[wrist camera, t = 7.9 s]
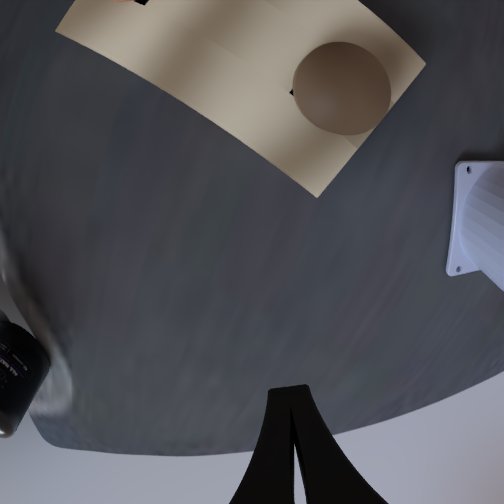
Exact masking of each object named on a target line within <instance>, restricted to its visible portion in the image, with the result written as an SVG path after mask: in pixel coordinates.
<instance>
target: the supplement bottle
mask: <svg viewBox="0 0 504 504" xmlns="http://www.w3.org/2000/svg"><path fill="white" fill-rule="evenodd" d="M48 372H49V361H48V357H47V355H46V353H45V351H44V349H43V348H42V346H41V345H40V344H39V342H38V341H37V340H36V339H35V338H34V337H33V336H32V335H31V334H30V333H29V332H28V331H26V330H25V329H23V328H22V327H21V326H19V325H17V324H14V323H11V322H3V323H0V438H8V437H11V436H12V435H13V434H14V433H15V431H16V430H17V428H18V426H19V424H20V422H21V420H22V418H23V417H24V415H25V413H26V411H27V409H28V408H29V406H30V404H31V402H32V400H33V399H34V397H35V395H36V393H37V392H38V390H39V388H40V387H41V385H42V383H43V381H44V380H45V378H46V376H47V374H48Z"/></svg>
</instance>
